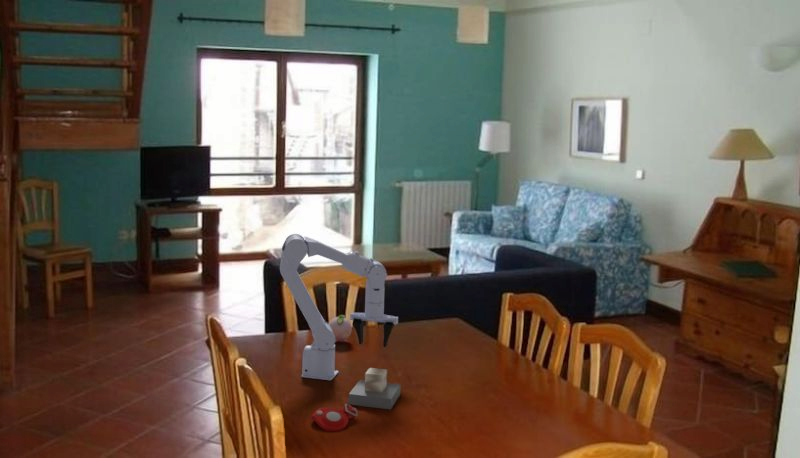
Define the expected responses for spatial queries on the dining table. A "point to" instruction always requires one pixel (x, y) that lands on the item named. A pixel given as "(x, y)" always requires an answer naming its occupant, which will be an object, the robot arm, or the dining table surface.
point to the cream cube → (375, 380)
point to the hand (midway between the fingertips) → (373, 344)
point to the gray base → (374, 396)
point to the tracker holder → (334, 417)
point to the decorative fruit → (341, 327)
